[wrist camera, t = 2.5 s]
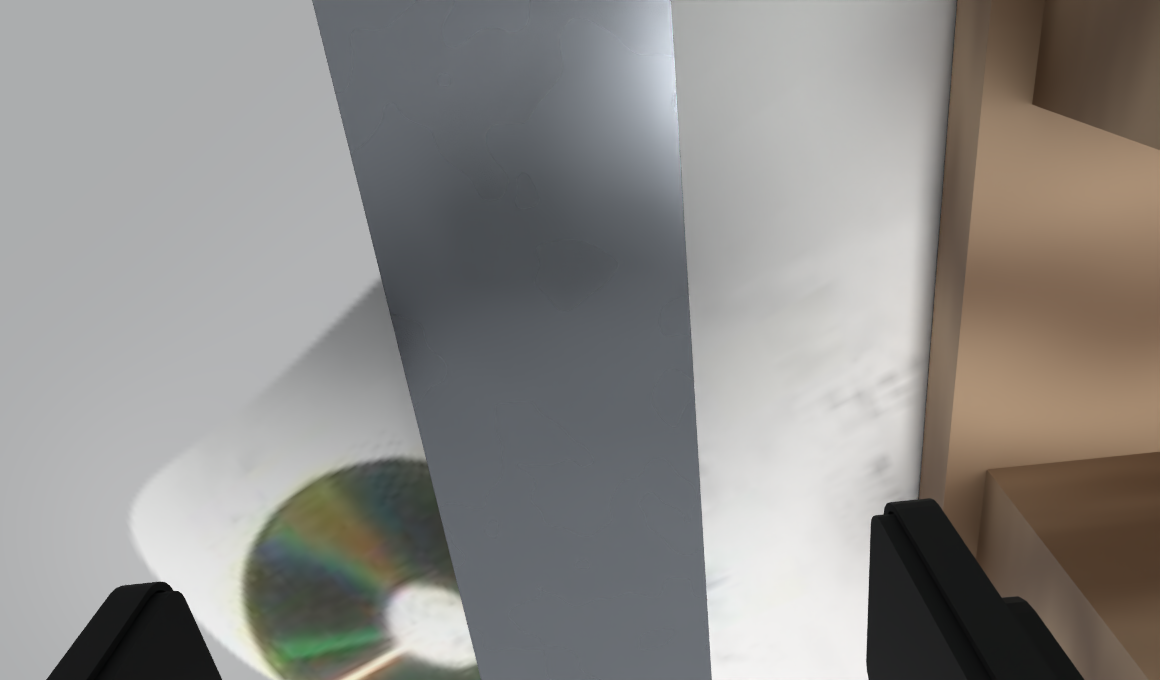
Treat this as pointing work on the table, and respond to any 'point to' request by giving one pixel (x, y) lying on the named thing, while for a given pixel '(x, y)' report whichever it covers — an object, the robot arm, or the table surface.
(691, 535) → the matte grey brick
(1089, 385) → the rack
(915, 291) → the table surface
